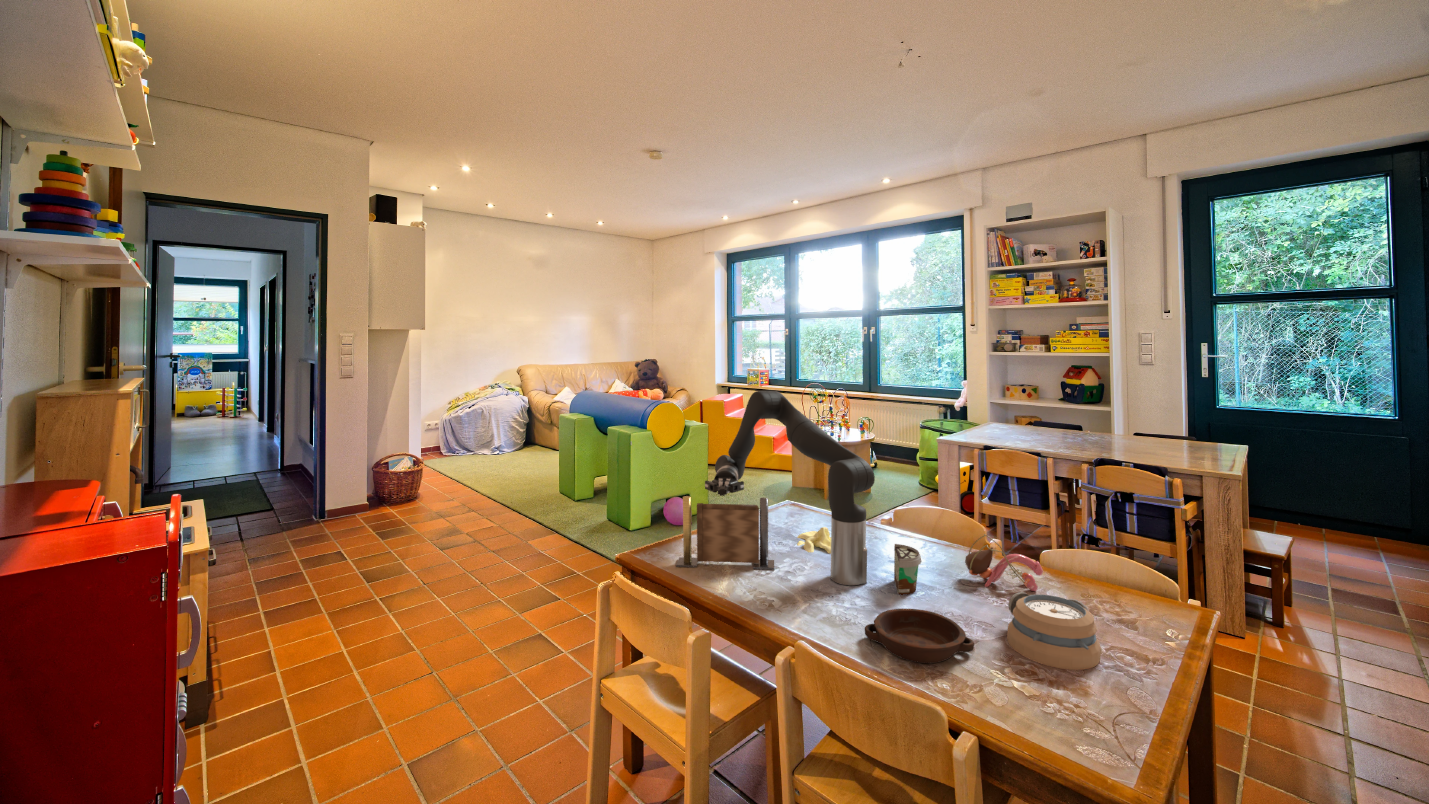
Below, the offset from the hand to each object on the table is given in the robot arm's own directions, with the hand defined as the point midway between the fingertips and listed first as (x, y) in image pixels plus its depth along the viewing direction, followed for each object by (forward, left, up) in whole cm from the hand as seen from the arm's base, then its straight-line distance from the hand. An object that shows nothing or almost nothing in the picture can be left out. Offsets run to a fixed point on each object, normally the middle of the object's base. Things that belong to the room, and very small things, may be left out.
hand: (722, 492), depth 172 cm
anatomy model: (-76, +13, -20) cm, 80 cm away
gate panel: (-2, +5, -19) cm, 20 cm away
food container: (-51, +18, -20) cm, 57 cm away
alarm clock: (-75, +43, -21) cm, 89 cm away
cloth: (-31, -14, -21) cm, 40 cm away
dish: (-46, +48, -21) cm, 69 cm away
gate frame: (-1, +5, -20) cm, 21 cm away
